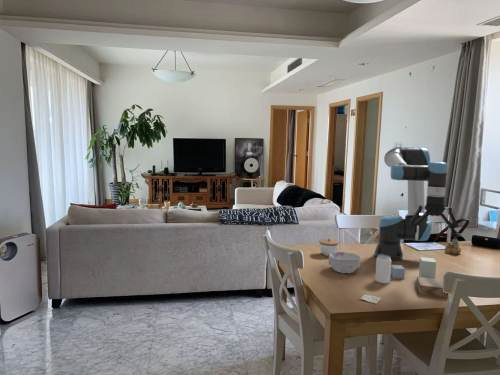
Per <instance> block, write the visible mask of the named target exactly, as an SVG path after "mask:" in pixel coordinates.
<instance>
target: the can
mask: <svg viewBox="0 0 500 375" xmlns="http://www.w3.org/2000/svg"><path fill="white" fill-rule="evenodd" d="M391 265H392V260H391V257H390V256H388V255H378V257H376V263H375V277H374V278H375V281H376V282H377V283H378V282H379V284H382V283H383V284H384V285H385V284H389V283H390V282H391V275H390V274H391Z"/></svg>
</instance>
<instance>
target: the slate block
mask: <svg viewBox="0 0 500 375" xmlns="http://www.w3.org/2000/svg"><path fill="white" fill-rule="evenodd" d="M405 272H406V268H404V266H403V265H401V264H399V265H398V264H391V274H390V277H392V278H393V279H395V278H398V279H399V280H402V279H403V280H404V279H405V274H406V273H405ZM398 279H397V280H398Z"/></svg>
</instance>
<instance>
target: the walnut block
mask: <svg viewBox="0 0 500 375" xmlns="http://www.w3.org/2000/svg"><path fill="white" fill-rule="evenodd" d="M443 279H444V278H443ZM443 279H442V278H436V277H435V278H426V277H419V276H416V283H415V286H416V288H417V290H418V294H419V295H422V294H424V295H423V296H430V295H432V297H438V296H445V297H444V298H446V297H448V298H449V295H450V293H445V292H443Z"/></svg>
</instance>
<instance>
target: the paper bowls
mask: <svg viewBox="0 0 500 375" xmlns="http://www.w3.org/2000/svg"><path fill="white" fill-rule="evenodd" d="M328 265H329V266H331V268H332V269H333V271H335V272H336V271H337V273H339V272H340V273H339V274H345V273H348V274H353V273H355V271H356V270H357V269H359V268H361V267H360V266H361V256H360V255H358V254H357V253H353V252H349V251H348V252H347V251H337V252H333V253H330V254H329V256H328Z"/></svg>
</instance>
